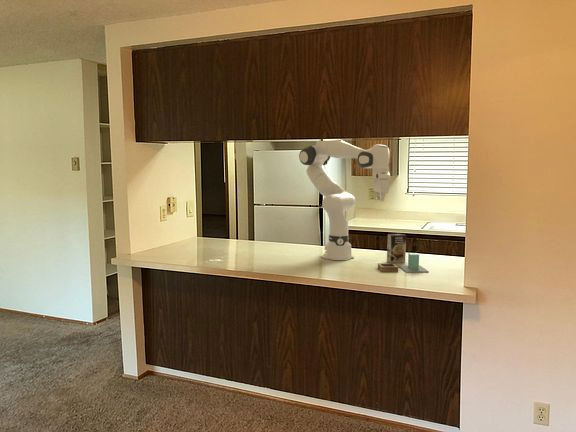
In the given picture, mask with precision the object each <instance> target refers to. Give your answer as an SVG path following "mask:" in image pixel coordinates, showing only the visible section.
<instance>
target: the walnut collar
mask: <svg viewBox="0 0 576 432" xmlns="http://www.w3.org/2000/svg"><path fill="white" fill-rule="evenodd" d="M377 269H378V270H379V271H380V272H381V273H389V272H388V271H392V272H393V273H396V272H397V273H398V272H399V265H398V266H397V264H396V263H390V262H388V263H386V262H384V263H377Z"/></svg>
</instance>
